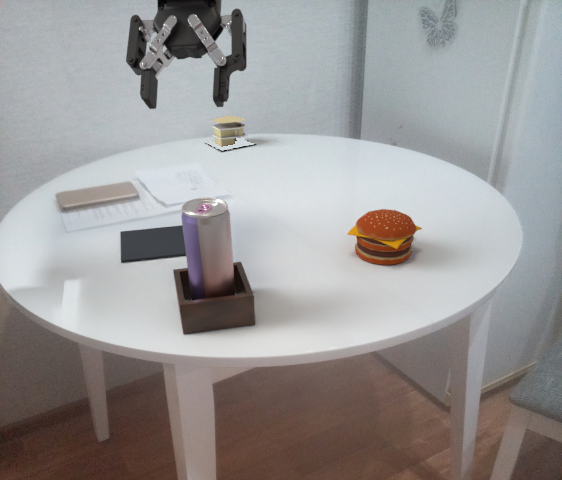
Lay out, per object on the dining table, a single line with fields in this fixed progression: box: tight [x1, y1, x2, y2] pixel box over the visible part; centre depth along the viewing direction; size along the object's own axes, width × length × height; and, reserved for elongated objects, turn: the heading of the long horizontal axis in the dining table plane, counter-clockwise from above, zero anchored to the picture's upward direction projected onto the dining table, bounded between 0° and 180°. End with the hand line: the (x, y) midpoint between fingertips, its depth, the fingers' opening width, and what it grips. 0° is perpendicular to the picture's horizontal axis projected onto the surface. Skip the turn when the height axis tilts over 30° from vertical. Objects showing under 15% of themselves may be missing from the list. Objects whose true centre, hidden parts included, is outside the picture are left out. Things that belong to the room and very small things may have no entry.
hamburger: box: [346, 208, 423, 266], centre depth 89 cm, size 9×10×7 cm
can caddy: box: [172, 261, 256, 335], centre depth 76 cm, size 10×10×4 cm
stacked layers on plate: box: [211, 115, 246, 153], centre depth 134 cm, size 10×9×6 cm
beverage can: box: [180, 197, 236, 300], centre depth 73 cm, size 6×6×15 cm
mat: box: [119, 224, 186, 263], centre depth 94 cm, size 11×11×1 cm
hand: (183, 105), depth 67 cm, fingers open, 8 cm apart
